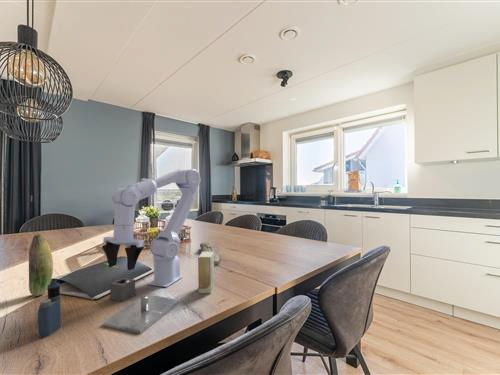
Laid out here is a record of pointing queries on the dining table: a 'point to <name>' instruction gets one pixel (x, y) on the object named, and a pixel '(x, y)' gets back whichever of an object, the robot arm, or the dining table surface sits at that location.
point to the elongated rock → (211, 248)
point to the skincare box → (206, 272)
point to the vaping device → (50, 311)
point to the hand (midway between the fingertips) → (121, 267)
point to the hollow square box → (122, 289)
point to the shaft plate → (141, 313)
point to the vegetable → (39, 265)
